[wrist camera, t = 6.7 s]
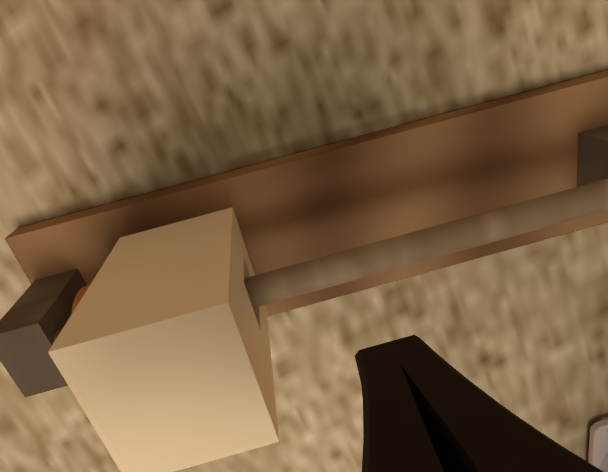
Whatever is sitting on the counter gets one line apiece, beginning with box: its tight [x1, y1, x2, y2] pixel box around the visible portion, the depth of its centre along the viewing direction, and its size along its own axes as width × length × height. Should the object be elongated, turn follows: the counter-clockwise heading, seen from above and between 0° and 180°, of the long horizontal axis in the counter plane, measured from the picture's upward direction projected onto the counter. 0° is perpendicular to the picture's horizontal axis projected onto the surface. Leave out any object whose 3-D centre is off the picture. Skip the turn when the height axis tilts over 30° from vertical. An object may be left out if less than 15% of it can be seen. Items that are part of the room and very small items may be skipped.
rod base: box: [0, 70, 608, 397], centre depth 15 cm, size 24×6×6 cm, turn 103°
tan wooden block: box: [48, 207, 279, 472], centre depth 13 cm, size 4×4×6 cm
